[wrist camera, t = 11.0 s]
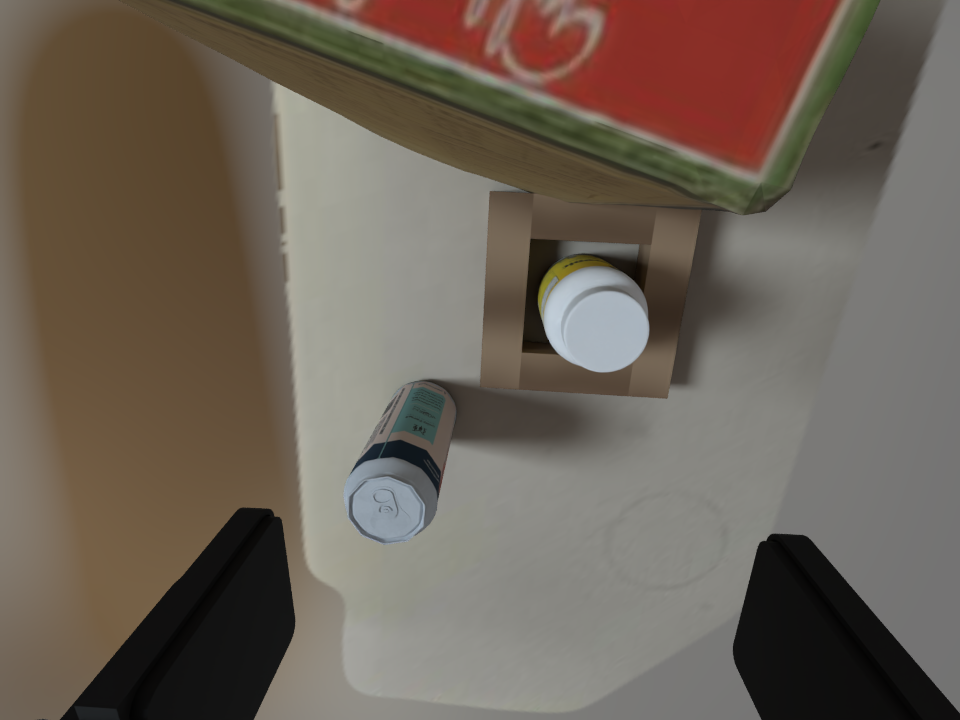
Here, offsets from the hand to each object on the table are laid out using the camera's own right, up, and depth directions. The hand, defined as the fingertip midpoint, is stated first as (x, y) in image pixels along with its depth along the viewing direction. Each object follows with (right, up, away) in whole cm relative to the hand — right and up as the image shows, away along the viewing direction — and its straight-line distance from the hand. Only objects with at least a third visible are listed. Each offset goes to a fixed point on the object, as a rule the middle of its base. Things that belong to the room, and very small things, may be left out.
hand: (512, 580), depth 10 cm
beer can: (-5, +1, +26) cm, 26 cm away
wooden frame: (+6, +9, +22) cm, 25 cm away
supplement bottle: (+6, +9, +23) cm, 25 cm away
